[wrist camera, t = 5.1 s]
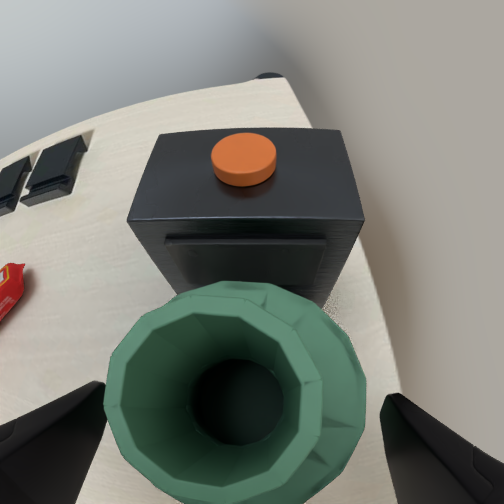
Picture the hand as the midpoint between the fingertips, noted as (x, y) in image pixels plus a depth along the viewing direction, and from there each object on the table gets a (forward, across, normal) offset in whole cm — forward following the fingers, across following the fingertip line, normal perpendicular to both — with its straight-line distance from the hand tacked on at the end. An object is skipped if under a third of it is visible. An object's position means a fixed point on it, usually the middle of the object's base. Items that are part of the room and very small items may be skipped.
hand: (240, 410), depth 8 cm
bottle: (+6, 0, +6) cm, 8 cm away
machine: (+8, 0, +4) cm, 9 cm away
